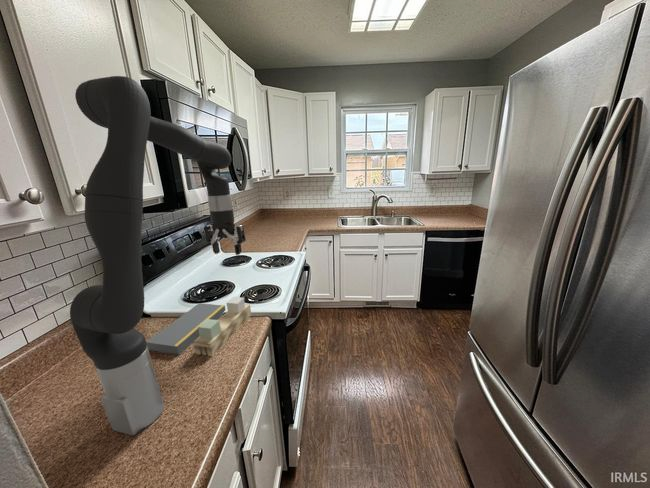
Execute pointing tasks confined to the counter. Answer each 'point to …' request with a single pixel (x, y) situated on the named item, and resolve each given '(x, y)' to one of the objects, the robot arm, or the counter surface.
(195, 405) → the counter surface
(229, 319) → the beige blocky bar
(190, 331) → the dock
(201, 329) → the crate sage
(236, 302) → the crate grey
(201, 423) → the counter surface
